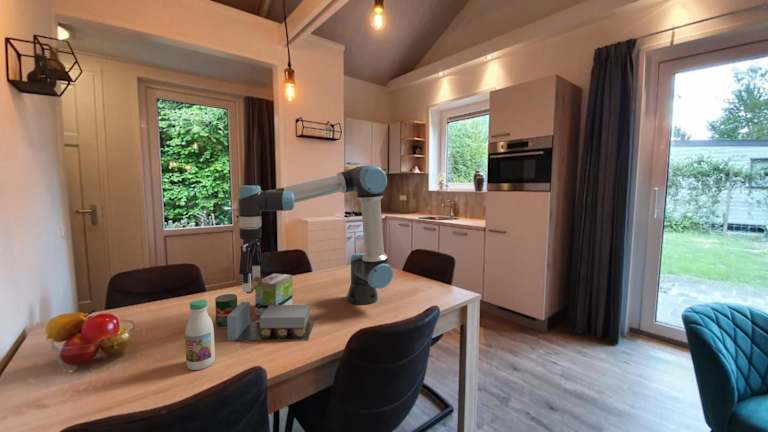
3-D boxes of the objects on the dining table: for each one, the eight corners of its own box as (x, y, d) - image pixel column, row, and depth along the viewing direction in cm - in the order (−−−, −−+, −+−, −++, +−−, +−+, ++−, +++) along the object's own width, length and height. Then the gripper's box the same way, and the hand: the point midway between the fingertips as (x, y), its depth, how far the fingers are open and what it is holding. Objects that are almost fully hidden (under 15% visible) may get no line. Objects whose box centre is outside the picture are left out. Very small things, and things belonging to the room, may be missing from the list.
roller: (252, 282, 125) (255, 275, 125) (260, 286, 126) (263, 278, 125) (242, 291, 115) (246, 283, 115) (251, 294, 116) (254, 286, 115)
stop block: (250, 323, 130) (249, 301, 129) (236, 340, 116) (235, 316, 115) (242, 323, 129) (241, 301, 128) (227, 340, 115) (227, 316, 115)
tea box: (276, 318, 136) (275, 283, 134) (254, 315, 138) (253, 281, 136) (293, 305, 150) (292, 274, 149) (273, 303, 152) (273, 272, 151)
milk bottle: (194, 357, 104) (191, 297, 102) (219, 357, 105) (217, 297, 103) (181, 371, 96) (178, 306, 94) (208, 370, 97) (205, 306, 95)
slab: (310, 314, 130) (310, 304, 129) (304, 327, 118) (304, 317, 117) (269, 314, 129) (269, 305, 128) (259, 328, 117) (259, 317, 116)
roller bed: (314, 322, 132) (314, 313, 131) (308, 340, 117) (308, 330, 116) (249, 323, 130) (249, 314, 130) (234, 341, 115) (234, 331, 115)
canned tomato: (215, 329, 124) (214, 302, 123) (215, 321, 131) (214, 295, 130) (238, 326, 127) (237, 299, 126) (237, 318, 134) (236, 292, 133)
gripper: (250, 223, 129) (251, 277, 131) (227, 232, 107) (229, 297, 109) (269, 223, 130) (270, 277, 132) (250, 232, 107) (251, 297, 109)
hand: (251, 286), depth 120 cm, fingers closed on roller, 10 cm apart
